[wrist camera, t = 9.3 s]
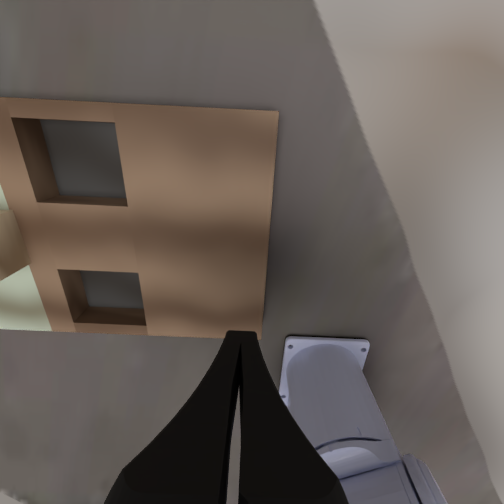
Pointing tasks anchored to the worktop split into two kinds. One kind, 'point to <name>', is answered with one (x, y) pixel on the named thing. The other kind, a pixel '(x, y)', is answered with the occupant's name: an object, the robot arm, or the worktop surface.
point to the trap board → (137, 216)
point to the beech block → (11, 246)
